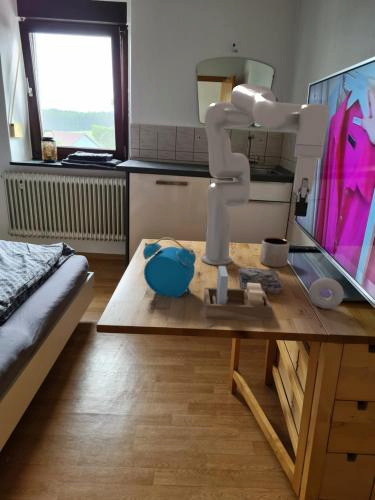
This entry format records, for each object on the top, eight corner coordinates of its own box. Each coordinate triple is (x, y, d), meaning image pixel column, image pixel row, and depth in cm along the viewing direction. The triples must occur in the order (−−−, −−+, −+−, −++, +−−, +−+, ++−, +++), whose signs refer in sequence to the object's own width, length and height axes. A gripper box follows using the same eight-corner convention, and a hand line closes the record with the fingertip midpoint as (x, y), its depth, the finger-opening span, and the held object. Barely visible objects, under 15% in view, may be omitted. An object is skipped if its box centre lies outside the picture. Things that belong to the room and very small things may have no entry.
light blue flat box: (215, 302, 116) (218, 265, 112) (222, 302, 116) (225, 266, 112) (218, 315, 108) (221, 276, 104) (225, 315, 108) (228, 276, 104)
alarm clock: (199, 293, 124) (202, 234, 118) (188, 306, 115) (192, 243, 108) (152, 284, 129) (152, 227, 123) (138, 296, 120) (138, 235, 113)
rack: (203, 302, 118) (204, 287, 116) (261, 304, 118) (263, 289, 117) (205, 321, 106) (206, 305, 105) (269, 323, 107) (271, 307, 105)
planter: (257, 258, 159) (259, 236, 156) (282, 259, 160) (285, 237, 157) (262, 267, 149) (265, 244, 146) (290, 268, 150) (293, 245, 147)
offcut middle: (243, 296, 115) (244, 289, 114) (256, 297, 115) (257, 289, 114) (249, 308, 108) (250, 300, 107) (263, 308, 108) (264, 301, 107)
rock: (231, 291, 125) (238, 265, 121) (235, 281, 133) (242, 256, 129) (277, 307, 122) (287, 280, 118) (279, 296, 130) (288, 270, 126)
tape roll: (306, 307, 118) (311, 277, 114) (306, 302, 121) (311, 273, 118) (340, 313, 115) (346, 283, 111) (340, 308, 118) (346, 279, 114)
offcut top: (246, 290, 114) (247, 282, 113) (259, 290, 114) (260, 283, 113) (248, 299, 107) (249, 292, 107) (262, 300, 107) (262, 293, 106)
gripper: (295, 149, 114) (288, 205, 119) (294, 152, 98) (285, 217, 103) (321, 151, 112) (313, 208, 117) (324, 154, 96) (314, 220, 101)
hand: (300, 212), depth 110 cm, fingers open, 9 cm apart
